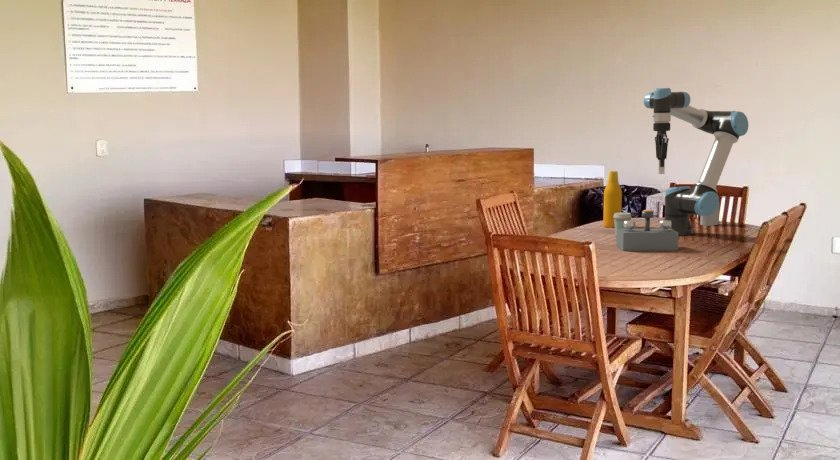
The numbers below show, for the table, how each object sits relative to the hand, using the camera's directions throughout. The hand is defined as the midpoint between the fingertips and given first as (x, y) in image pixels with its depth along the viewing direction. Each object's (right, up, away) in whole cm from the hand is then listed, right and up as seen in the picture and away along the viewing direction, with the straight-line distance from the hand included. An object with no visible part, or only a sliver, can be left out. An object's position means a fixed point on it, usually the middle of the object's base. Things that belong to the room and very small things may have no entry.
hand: (661, 173), depth 400 cm
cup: (+42, -23, +59) cm, 75 cm away
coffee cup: (-14, -30, +17) cm, 37 cm away
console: (-10, -34, -13) cm, 38 cm away
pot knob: (-10, -29, -14) cm, 33 cm away
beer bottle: (-10, -24, +55) cm, 61 cm away
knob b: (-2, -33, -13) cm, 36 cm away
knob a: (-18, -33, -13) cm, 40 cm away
